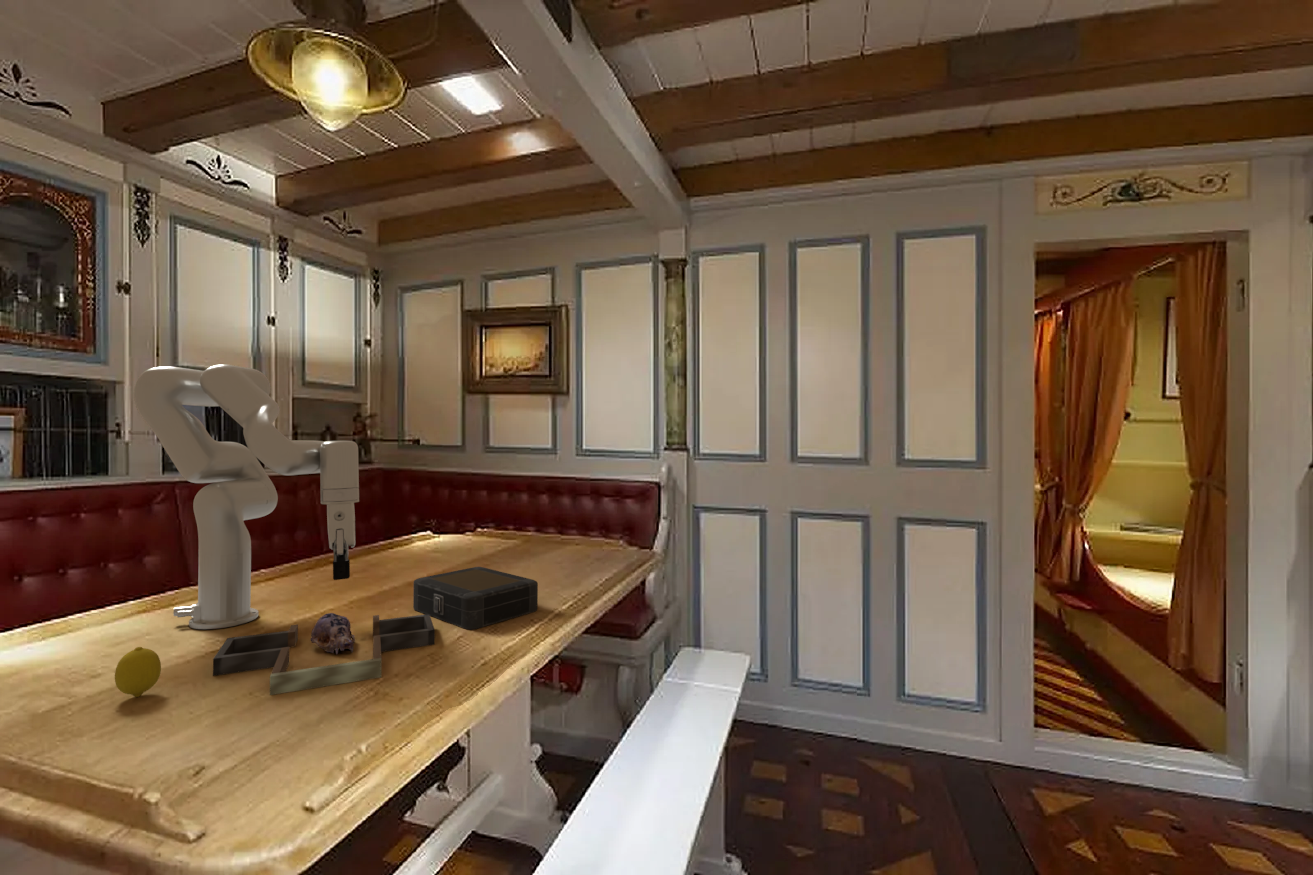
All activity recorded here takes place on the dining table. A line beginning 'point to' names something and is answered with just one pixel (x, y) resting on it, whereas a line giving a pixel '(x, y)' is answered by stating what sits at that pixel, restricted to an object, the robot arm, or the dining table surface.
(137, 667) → the lemon
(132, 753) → the dining table surface
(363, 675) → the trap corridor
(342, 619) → the skull
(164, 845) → the dining table surface
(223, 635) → the dining table surface
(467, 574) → the cash box
